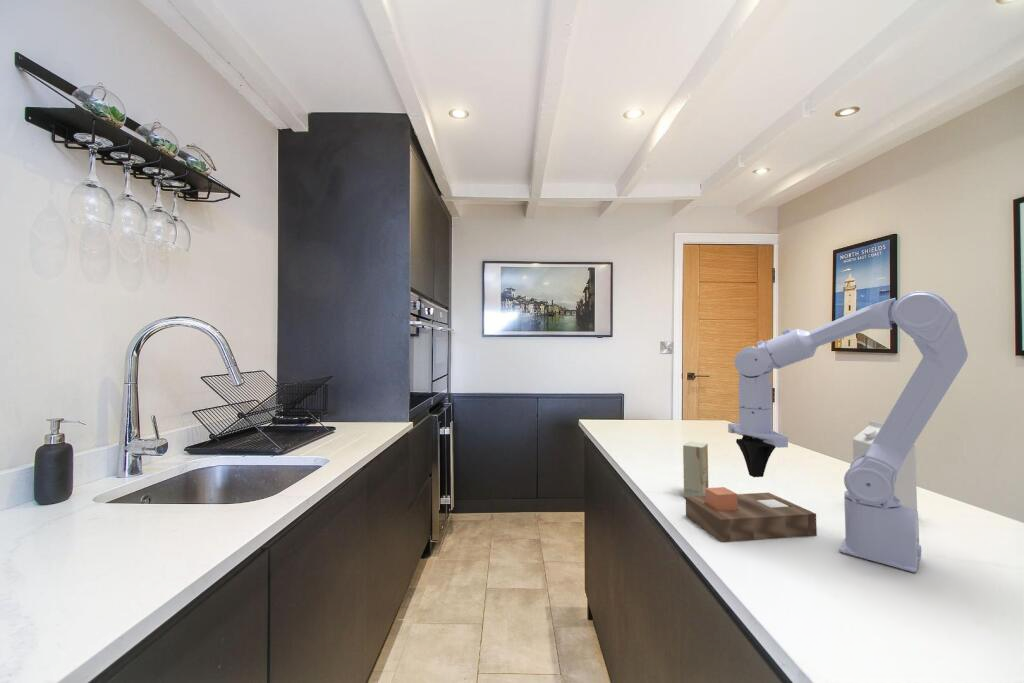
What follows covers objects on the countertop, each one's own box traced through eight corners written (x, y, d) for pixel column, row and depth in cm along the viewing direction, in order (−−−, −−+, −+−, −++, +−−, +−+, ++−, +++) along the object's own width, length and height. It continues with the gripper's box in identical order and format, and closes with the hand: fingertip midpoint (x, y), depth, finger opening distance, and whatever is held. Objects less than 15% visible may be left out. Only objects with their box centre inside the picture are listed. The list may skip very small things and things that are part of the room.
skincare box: (703, 501, 96) (701, 447, 96) (683, 497, 98) (682, 445, 99) (709, 493, 101) (708, 442, 101) (690, 490, 104) (689, 440, 104)
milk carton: (889, 508, 91) (886, 420, 91) (918, 521, 84) (914, 426, 84) (854, 507, 91) (851, 420, 92) (879, 520, 84) (876, 425, 85)
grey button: (774, 519, 85) (774, 499, 85) (789, 527, 81) (789, 506, 81) (756, 520, 85) (756, 500, 85) (771, 528, 81) (770, 507, 81)
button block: (769, 511, 89) (768, 492, 89) (816, 535, 77) (816, 513, 78) (685, 516, 87) (685, 496, 87) (721, 542, 75) (721, 519, 75)
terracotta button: (724, 507, 84) (723, 487, 84) (737, 514, 80) (737, 493, 80) (705, 508, 83) (705, 488, 83) (718, 516, 79) (717, 494, 79)
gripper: (714, 403, 90) (715, 466, 90) (762, 413, 76) (763, 488, 75) (745, 402, 91) (746, 465, 90) (797, 412, 76) (799, 487, 76)
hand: (756, 476), depth 83 cm, fingers closed
